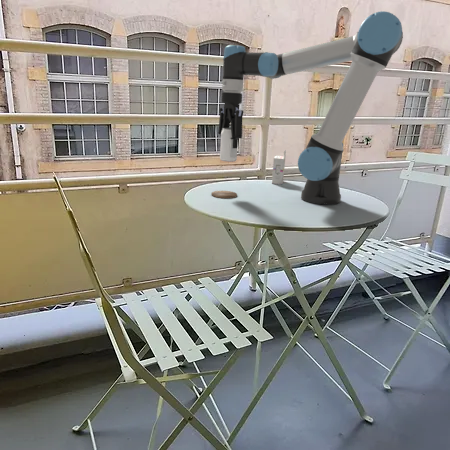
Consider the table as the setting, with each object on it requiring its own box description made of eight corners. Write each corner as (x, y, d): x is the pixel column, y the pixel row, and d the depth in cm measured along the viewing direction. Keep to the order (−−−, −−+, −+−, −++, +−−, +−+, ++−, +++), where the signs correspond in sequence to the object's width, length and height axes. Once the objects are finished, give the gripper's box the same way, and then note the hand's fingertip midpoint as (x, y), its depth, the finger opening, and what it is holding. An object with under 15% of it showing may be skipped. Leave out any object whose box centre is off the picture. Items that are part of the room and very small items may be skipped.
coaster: (241, 197, 152) (242, 195, 152) (219, 199, 147) (219, 197, 147) (228, 191, 160) (228, 189, 160) (206, 193, 155) (206, 191, 155)
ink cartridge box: (272, 180, 186) (275, 148, 181) (283, 181, 185) (286, 149, 180) (271, 183, 178) (274, 151, 173) (282, 184, 177) (285, 151, 172)
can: (227, 158, 156) (229, 127, 152) (239, 160, 152) (242, 129, 148) (216, 159, 151) (217, 127, 147) (229, 162, 147) (230, 129, 143)
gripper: (210, 90, 149) (208, 151, 157) (236, 92, 134) (232, 159, 141) (228, 91, 153) (224, 151, 160) (255, 93, 137) (250, 159, 145)
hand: (228, 155), depth 151 cm, fingers closed on can, 6 cm apart
